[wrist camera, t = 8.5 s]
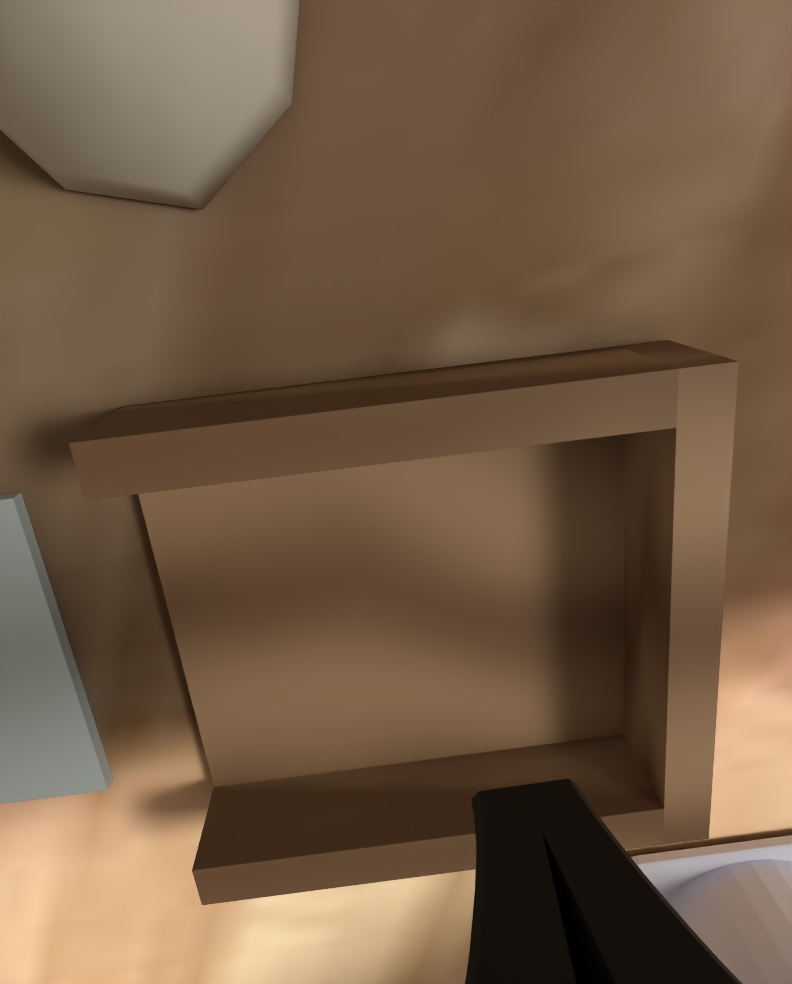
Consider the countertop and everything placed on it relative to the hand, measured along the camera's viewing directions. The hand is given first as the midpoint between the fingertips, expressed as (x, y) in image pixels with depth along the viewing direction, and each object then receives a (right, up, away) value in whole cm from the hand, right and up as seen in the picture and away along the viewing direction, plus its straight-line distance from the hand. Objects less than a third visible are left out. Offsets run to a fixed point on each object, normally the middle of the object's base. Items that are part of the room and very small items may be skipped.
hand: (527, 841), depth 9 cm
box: (-2, +2, +9) cm, 9 cm away
